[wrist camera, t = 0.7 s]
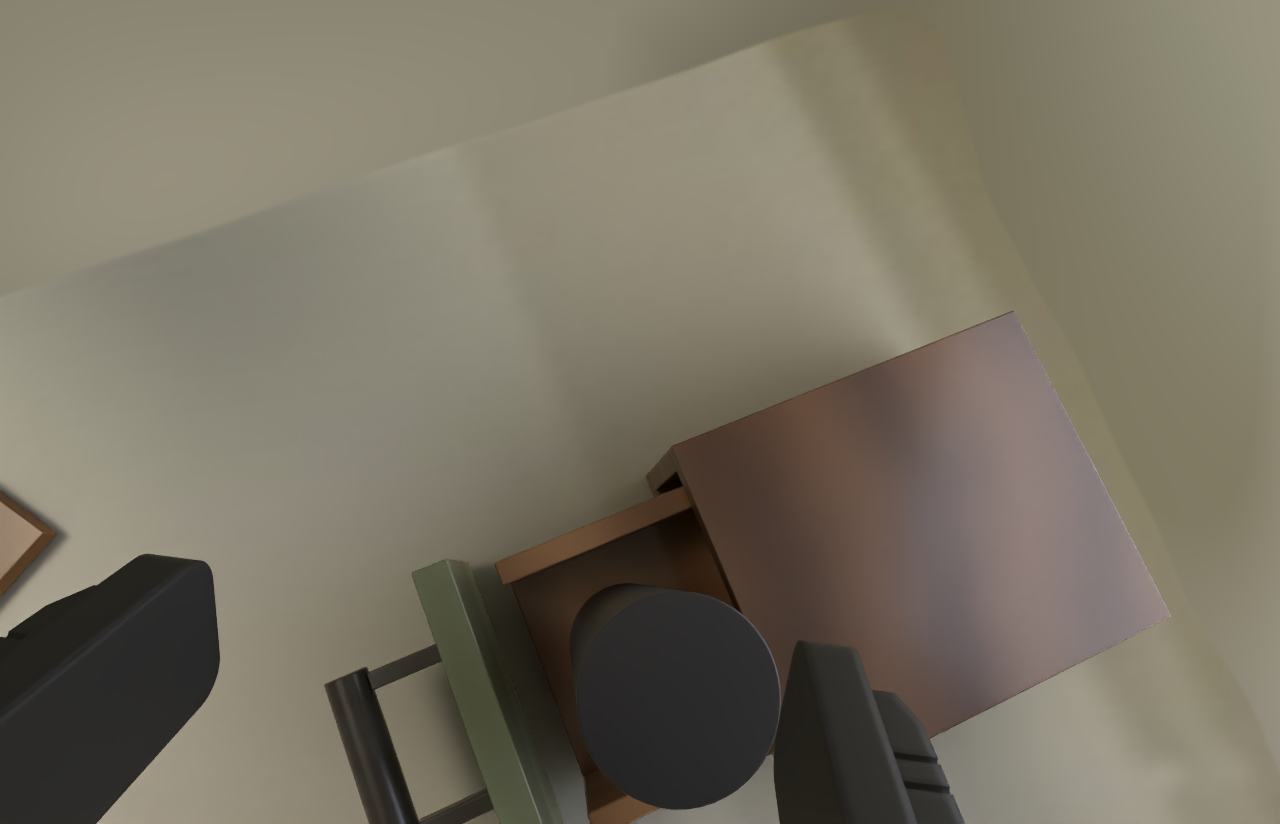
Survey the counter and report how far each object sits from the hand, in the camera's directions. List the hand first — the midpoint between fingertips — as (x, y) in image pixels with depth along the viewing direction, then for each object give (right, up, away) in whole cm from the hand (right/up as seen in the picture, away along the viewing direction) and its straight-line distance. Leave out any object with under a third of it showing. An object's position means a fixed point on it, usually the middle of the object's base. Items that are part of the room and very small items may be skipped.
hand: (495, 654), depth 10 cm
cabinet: (+11, -2, +22) cm, 25 cm away
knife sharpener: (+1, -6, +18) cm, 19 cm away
